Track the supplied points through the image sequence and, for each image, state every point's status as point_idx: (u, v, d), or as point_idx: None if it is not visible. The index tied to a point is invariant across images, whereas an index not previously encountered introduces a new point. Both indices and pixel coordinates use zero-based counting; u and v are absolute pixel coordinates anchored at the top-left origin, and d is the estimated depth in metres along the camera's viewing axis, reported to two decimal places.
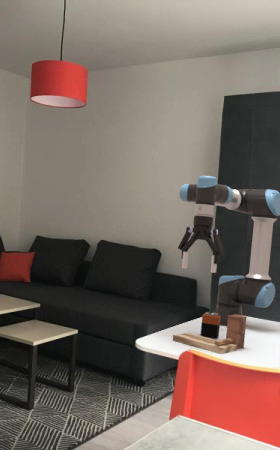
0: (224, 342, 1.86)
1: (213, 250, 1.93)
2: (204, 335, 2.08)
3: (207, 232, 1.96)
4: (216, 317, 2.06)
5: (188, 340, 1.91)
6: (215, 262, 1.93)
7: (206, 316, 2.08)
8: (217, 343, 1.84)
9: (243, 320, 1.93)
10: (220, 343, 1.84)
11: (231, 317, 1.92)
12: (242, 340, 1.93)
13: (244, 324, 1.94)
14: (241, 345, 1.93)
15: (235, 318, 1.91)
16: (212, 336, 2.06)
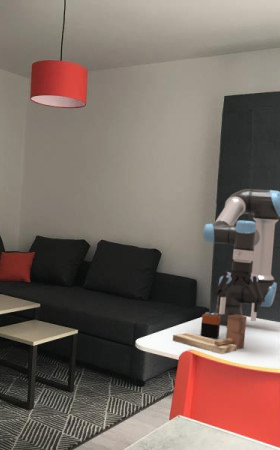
0: (224, 342, 1.86)
1: (253, 297, 1.88)
2: (204, 335, 2.08)
3: (246, 279, 1.91)
4: (216, 317, 2.06)
5: (188, 340, 1.91)
6: (255, 310, 1.88)
7: (206, 316, 2.08)
8: (217, 343, 1.84)
9: (243, 320, 1.93)
10: (220, 343, 1.84)
11: (231, 317, 1.92)
12: (242, 340, 1.93)
13: (244, 324, 1.94)
14: (241, 345, 1.93)
15: (235, 318, 1.91)
16: (212, 336, 2.06)
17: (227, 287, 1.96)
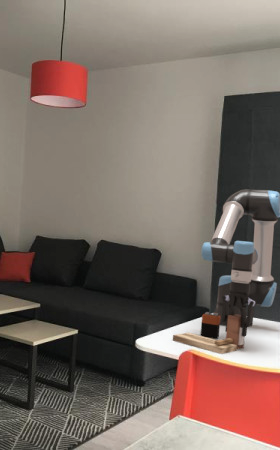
0: (224, 342, 1.86)
1: (243, 321, 1.91)
2: (204, 335, 2.08)
3: (244, 299, 1.91)
4: (216, 317, 2.06)
5: (188, 340, 1.91)
6: (243, 334, 1.91)
7: (206, 316, 2.08)
8: (217, 343, 1.84)
9: None
10: (220, 343, 1.84)
11: (231, 317, 1.92)
12: None
13: None
14: (241, 345, 1.93)
15: (235, 318, 1.91)
16: (212, 336, 2.06)
17: (230, 311, 1.94)
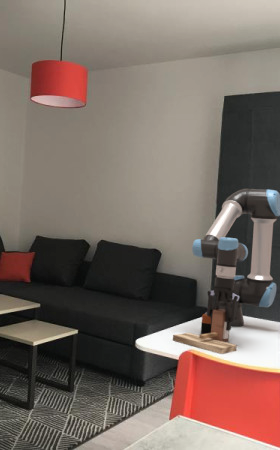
0: (209, 336, 1.91)
1: (227, 316, 1.95)
2: None
3: (228, 294, 1.96)
4: None
5: (188, 340, 1.91)
6: (227, 328, 1.96)
7: (206, 316, 2.08)
8: (202, 337, 1.88)
9: None
10: (205, 337, 1.89)
11: (216, 311, 1.97)
12: None
13: None
14: None
15: (220, 312, 1.95)
16: None
17: (215, 306, 1.99)
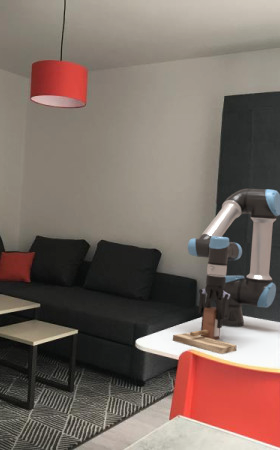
0: (199, 333, 1.94)
1: (218, 314, 1.98)
2: None
3: (219, 292, 1.98)
4: None
5: (188, 340, 1.91)
6: (218, 326, 1.98)
7: None
8: (192, 334, 1.91)
9: None
10: (195, 334, 1.92)
11: (207, 309, 1.99)
12: None
13: None
14: (216, 336, 2.00)
15: (211, 310, 1.98)
16: None
17: (206, 304, 2.02)
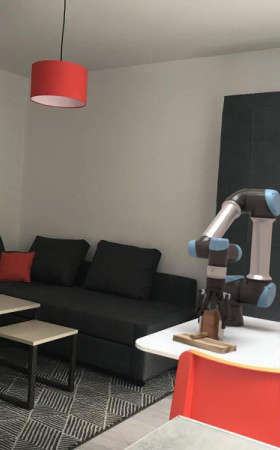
0: (199, 336, 1.94)
1: (221, 314, 1.97)
2: None
3: (219, 294, 1.98)
4: None
5: (188, 340, 1.91)
6: (222, 327, 1.97)
7: None
8: (192, 336, 1.91)
9: (218, 315, 2.00)
10: (195, 336, 1.92)
11: (207, 312, 1.99)
12: (217, 334, 2.01)
13: (219, 318, 2.01)
14: (216, 338, 2.00)
15: (210, 313, 1.98)
16: None
17: (204, 304, 2.02)
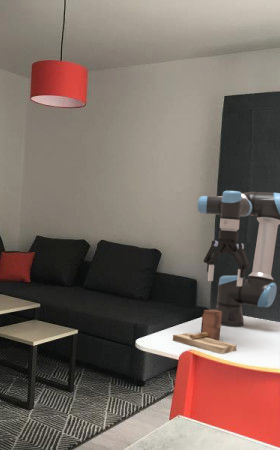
0: (199, 336, 1.94)
1: (239, 264, 1.97)
2: None
3: (233, 246, 1.99)
4: None
5: (188, 340, 1.91)
6: (241, 276, 1.96)
7: None
8: (192, 336, 1.91)
9: (218, 315, 2.00)
10: (195, 336, 1.92)
11: (207, 312, 1.99)
12: (217, 334, 2.01)
13: (219, 318, 2.01)
14: (216, 338, 2.00)
15: (210, 313, 1.98)
16: None
17: (215, 255, 2.04)
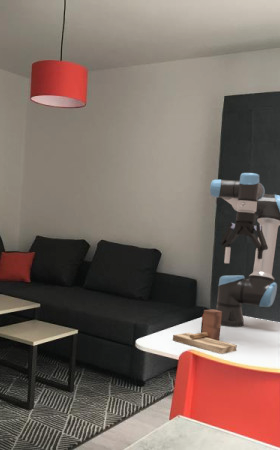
0: (199, 336, 1.94)
1: (257, 245, 1.98)
2: None
3: (250, 228, 2.00)
4: None
5: (188, 340, 1.91)
6: (259, 257, 1.98)
7: None
8: (192, 337, 1.91)
9: (218, 315, 2.00)
10: (195, 337, 1.92)
11: (207, 312, 1.99)
12: (217, 334, 2.01)
13: (219, 318, 2.01)
14: (216, 338, 2.00)
15: (210, 313, 1.98)
16: None
17: (232, 237, 2.05)
